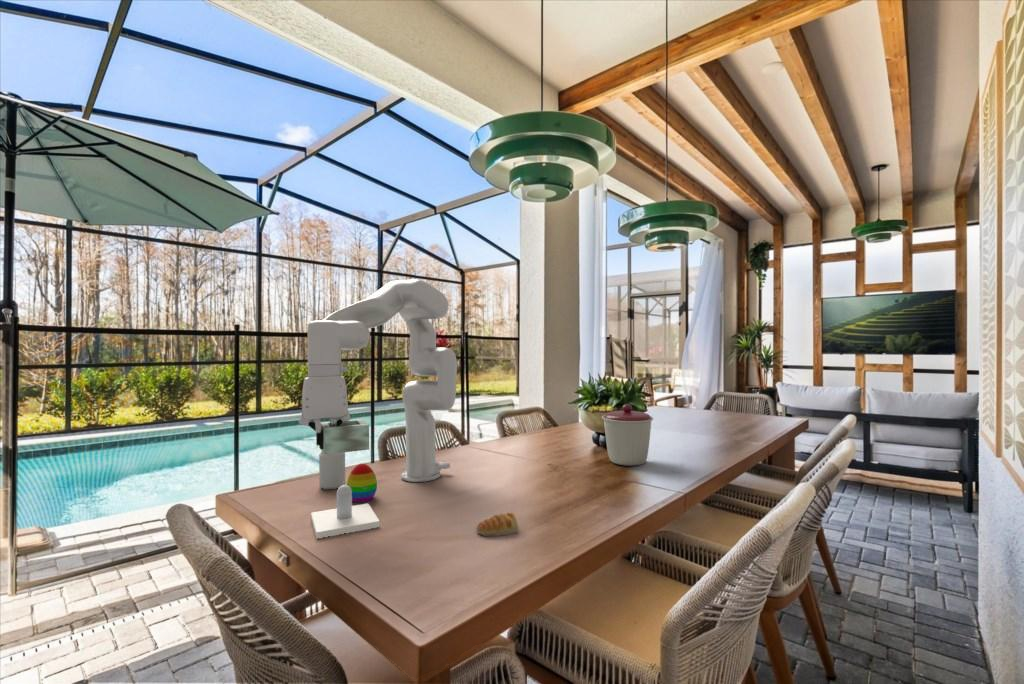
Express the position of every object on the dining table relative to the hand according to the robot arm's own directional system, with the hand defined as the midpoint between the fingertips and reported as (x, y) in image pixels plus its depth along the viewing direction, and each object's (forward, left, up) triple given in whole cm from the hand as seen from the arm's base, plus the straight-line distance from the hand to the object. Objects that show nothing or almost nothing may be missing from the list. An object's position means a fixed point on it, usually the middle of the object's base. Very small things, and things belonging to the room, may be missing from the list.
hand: (325, 447), depth 114 cm
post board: (-4, 0, -19) cm, 19 cm away
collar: (-4, 0, -1) cm, 4 cm away
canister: (-103, -10, -19) cm, 105 cm away
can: (-5, -32, -19) cm, 38 cm away
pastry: (-36, +23, -20) cm, 46 cm away
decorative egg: (-11, -16, -19) cm, 27 cm away
